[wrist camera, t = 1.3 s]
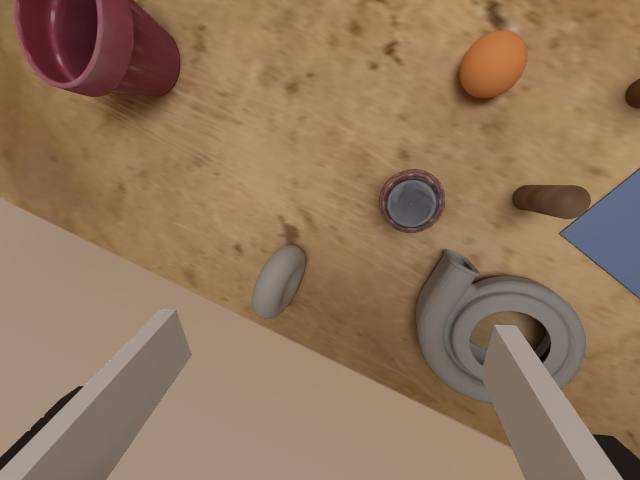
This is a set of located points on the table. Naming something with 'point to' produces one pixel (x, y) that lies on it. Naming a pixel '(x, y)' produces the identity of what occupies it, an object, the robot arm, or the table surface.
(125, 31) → the plant pot
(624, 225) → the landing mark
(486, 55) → the orange egg
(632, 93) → the post right
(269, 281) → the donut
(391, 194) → the supplement bottle
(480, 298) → the turbocharger housing
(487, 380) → the robot arm
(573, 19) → the table surface
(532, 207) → the post left
